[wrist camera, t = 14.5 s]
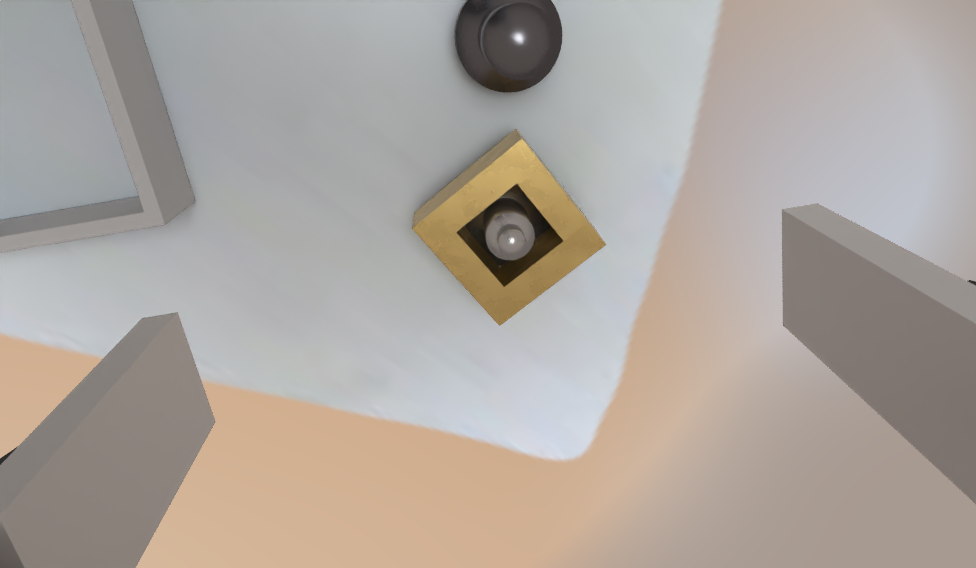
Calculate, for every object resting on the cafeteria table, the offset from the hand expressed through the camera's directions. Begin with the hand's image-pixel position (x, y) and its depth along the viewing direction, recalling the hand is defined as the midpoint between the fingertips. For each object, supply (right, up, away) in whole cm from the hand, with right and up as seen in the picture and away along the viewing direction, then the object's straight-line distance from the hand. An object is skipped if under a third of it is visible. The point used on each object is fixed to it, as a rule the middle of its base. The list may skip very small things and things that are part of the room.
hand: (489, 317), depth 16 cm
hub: (+1, +6, +37) cm, 38 cm away
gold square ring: (+1, +5, +35) cm, 35 cm away
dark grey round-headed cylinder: (+1, +18, +33) cm, 37 cm away
